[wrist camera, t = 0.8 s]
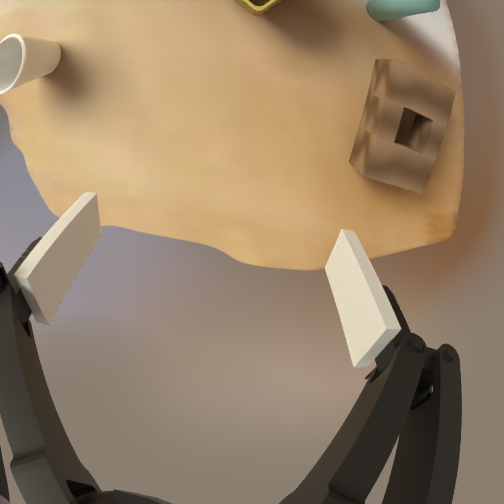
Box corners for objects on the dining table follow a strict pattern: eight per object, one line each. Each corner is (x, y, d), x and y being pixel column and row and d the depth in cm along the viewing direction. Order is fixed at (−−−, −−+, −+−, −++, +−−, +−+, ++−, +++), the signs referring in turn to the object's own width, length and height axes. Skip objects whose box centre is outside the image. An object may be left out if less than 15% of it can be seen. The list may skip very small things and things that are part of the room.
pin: (368, -4, 21) (413, -24, 11) (391, 6, 21) (441, -7, 12) (364, 15, 23) (410, 0, 13) (388, 25, 23) (438, 17, 14)
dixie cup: (76, 39, 23) (33, 38, 15) (55, 89, 27) (12, 101, 19) (42, 29, 20) (0, 30, 12) (24, 76, 24) (-19, 87, 16)
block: (375, 59, 27) (397, 59, 22) (431, 86, 28) (455, 92, 23) (349, 161, 36) (364, 177, 31) (403, 177, 37) (422, 194, 32)
